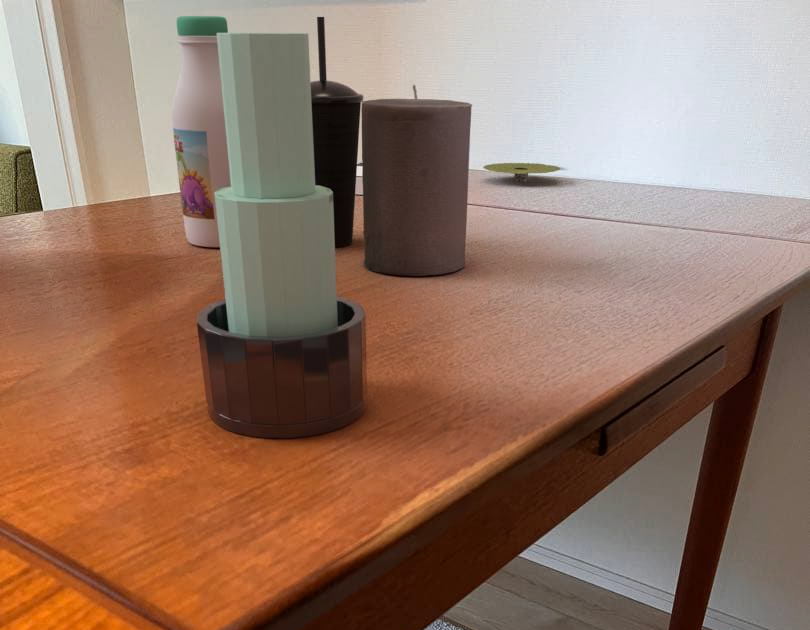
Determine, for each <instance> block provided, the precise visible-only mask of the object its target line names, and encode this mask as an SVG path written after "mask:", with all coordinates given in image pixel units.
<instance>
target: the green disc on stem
mask: <svg viewBox="0 0 810 630" xmlns="http://www.w3.org/2000/svg"><path fill="white" fill-rule="evenodd" d="M482 168H483V169H485V170H486V171H489V172H495V173H503V174H513V175H514V176H513V178H515V181H518V182H519V183H521V182H522V181H525V182H528V179H529V174H548V173H554V172H557V171H561V167H559V166H556V165H550V164H546V163H545V164H544V163H534V162H533V163H532V162H531V163H530V162H526V163H525V162H503V163H502V162H499V163H491V164H486V165H484V166H483V167H482Z"/></svg>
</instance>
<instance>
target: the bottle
mask: <svg viewBox="0 0 810 630" xmlns="http://www.w3.org/2000/svg"><path fill="white" fill-rule="evenodd" d="M216 37H217V43H218V54H219V64H220V75H221V86H222V96H223V107H224V117H225V128H226V138H227V149H228V159H229V170H230V180H231V187H226V188H222V189H220V190H218V191H216V192H214V194H215V203H216V213H217V222H218V232H219V241H220V247H219V249H220V260H221V270H222V278H223V279H222V280H223V287H224V298H225V299H226V308H227V318H228V327H229V332H232V333H238V334H244V335H251V336H272V337H275V336H295V335H304V334H311V333H317V332H322V331H326V330H329V329H333V328H336V327H338V319H337V296H338V295H337V293H338V292H337V269H336V268H337V267H336V266H337V265H336V247H335V237H334V209H333V192H332V191H331V189H329V188H326V187H323V186H318V185H315V168H314V147H313V125H312V104H311V82H312V81H311V64H310V63H311V62H310V45H309V44H310V41H309V33H308V32H307V33H306V32H305V33H302V32H300V33H298V32H228V33H217V36H216ZM225 299H224V300H225Z"/></svg>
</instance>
